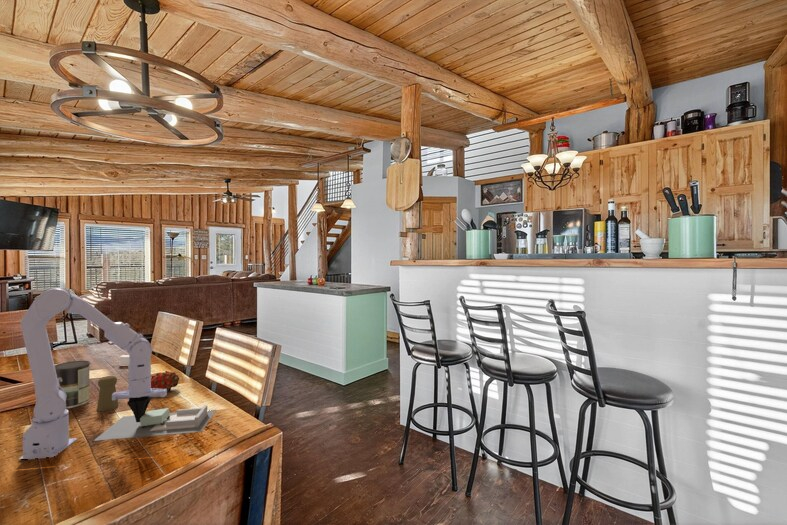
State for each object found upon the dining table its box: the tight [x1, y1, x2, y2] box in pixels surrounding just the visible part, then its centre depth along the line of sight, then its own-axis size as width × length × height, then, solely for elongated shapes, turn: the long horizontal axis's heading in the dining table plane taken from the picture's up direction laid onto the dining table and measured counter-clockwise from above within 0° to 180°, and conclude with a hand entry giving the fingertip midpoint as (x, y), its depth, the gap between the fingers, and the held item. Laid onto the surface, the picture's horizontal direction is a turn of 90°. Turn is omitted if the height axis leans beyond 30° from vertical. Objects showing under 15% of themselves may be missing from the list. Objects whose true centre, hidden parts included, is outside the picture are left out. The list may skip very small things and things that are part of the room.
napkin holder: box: [118, 354, 130, 366], centre depth 173 cm, size 15×11×6 cm
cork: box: [96, 375, 119, 412], centre depth 126 cm, size 6×6×11 cm
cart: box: [140, 407, 170, 428], centre depth 114 cm, size 6×7×3 cm
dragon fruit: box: [151, 370, 180, 392], centre depth 142 cm, size 8×8×12 cm
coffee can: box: [54, 360, 91, 410], centre depth 130 cm, size 10×10×14 cm
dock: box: [93, 405, 217, 442], centre depth 114 cm, size 16×28×4 cm, turn 101°
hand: (140, 420), depth 113 cm, fingers closed
